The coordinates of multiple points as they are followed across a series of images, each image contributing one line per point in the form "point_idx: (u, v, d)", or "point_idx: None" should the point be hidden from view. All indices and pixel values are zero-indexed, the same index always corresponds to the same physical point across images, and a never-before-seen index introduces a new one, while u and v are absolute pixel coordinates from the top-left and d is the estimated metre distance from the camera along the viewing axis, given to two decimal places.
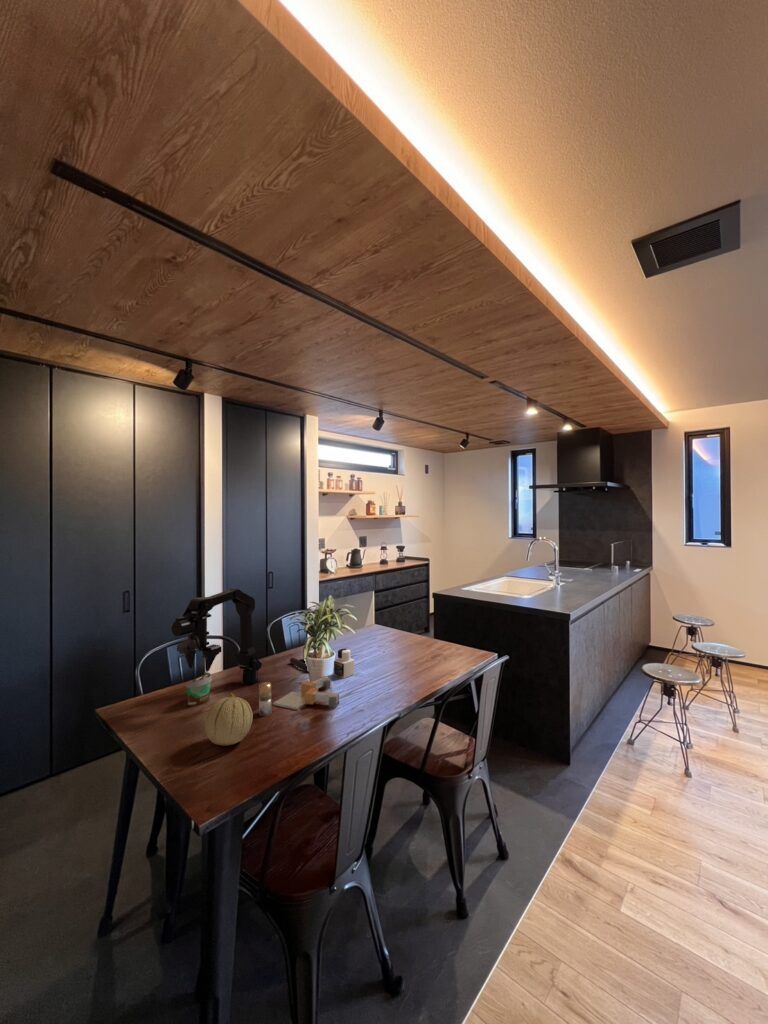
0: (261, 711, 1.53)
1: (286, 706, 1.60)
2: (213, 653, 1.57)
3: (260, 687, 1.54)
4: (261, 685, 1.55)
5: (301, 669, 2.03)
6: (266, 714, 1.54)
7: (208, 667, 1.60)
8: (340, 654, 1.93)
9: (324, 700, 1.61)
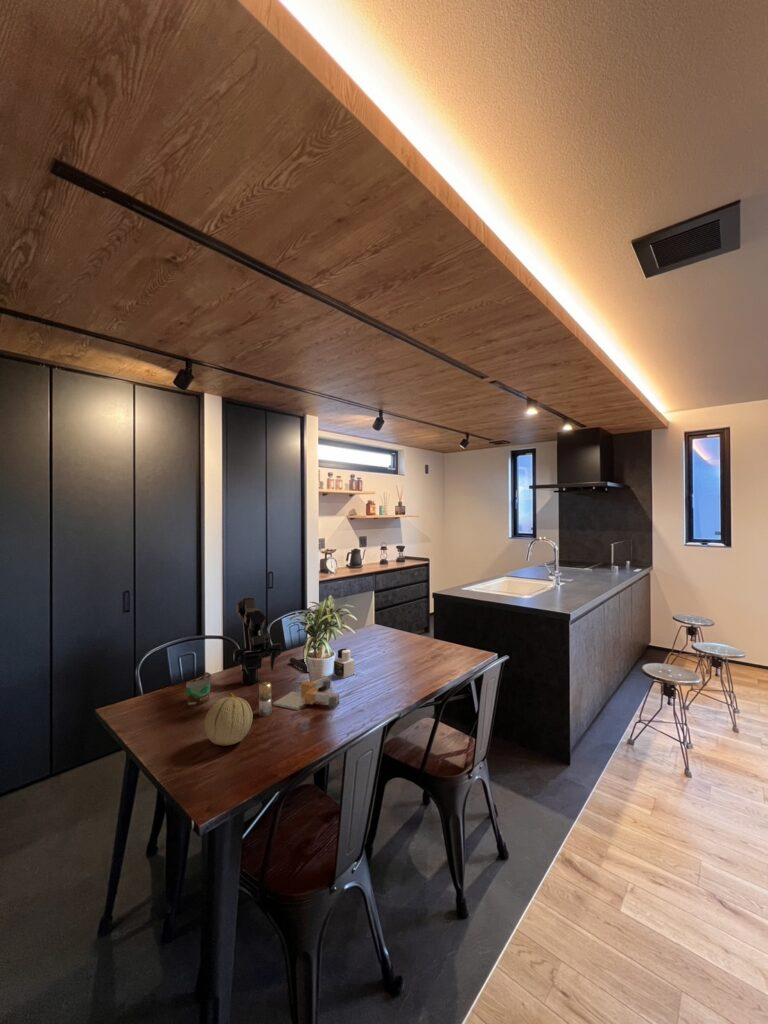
0: (261, 711, 1.53)
1: (286, 706, 1.60)
2: None
3: (260, 687, 1.54)
4: (261, 685, 1.55)
5: (301, 669, 2.03)
6: (266, 714, 1.54)
7: None
8: (340, 654, 1.93)
9: (324, 700, 1.61)
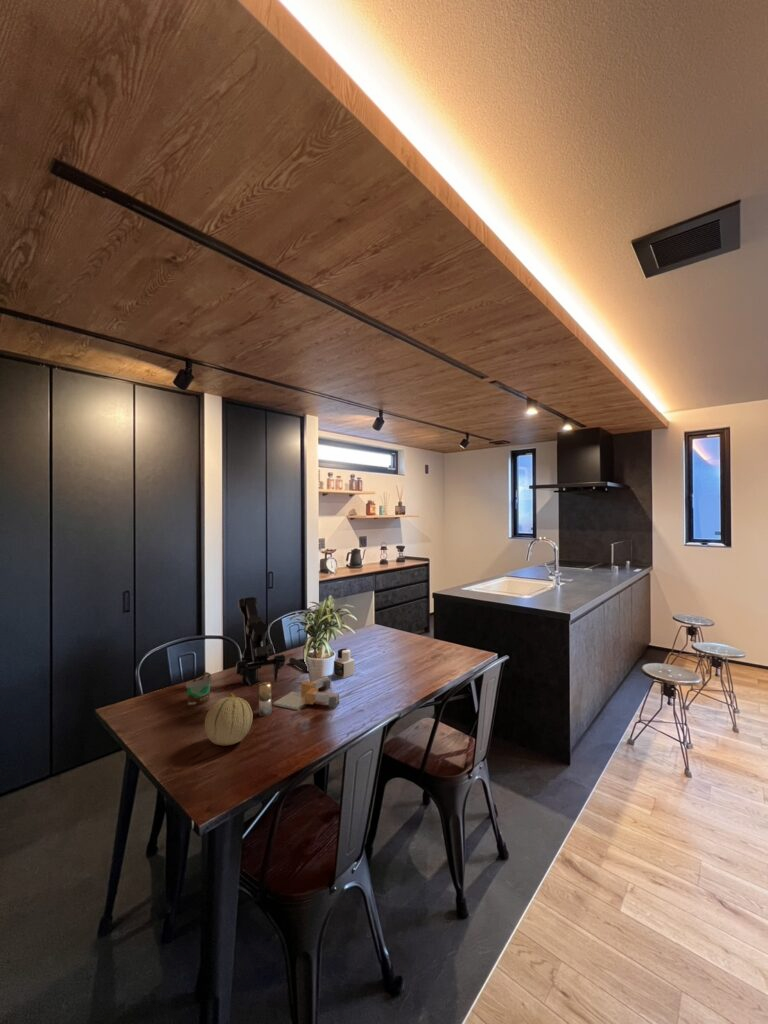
0: (261, 711, 1.53)
1: (286, 706, 1.60)
2: None
3: (260, 687, 1.54)
4: (261, 685, 1.55)
5: (301, 669, 2.03)
6: (266, 714, 1.54)
7: (276, 677, 1.62)
8: (340, 654, 1.93)
9: (324, 700, 1.61)
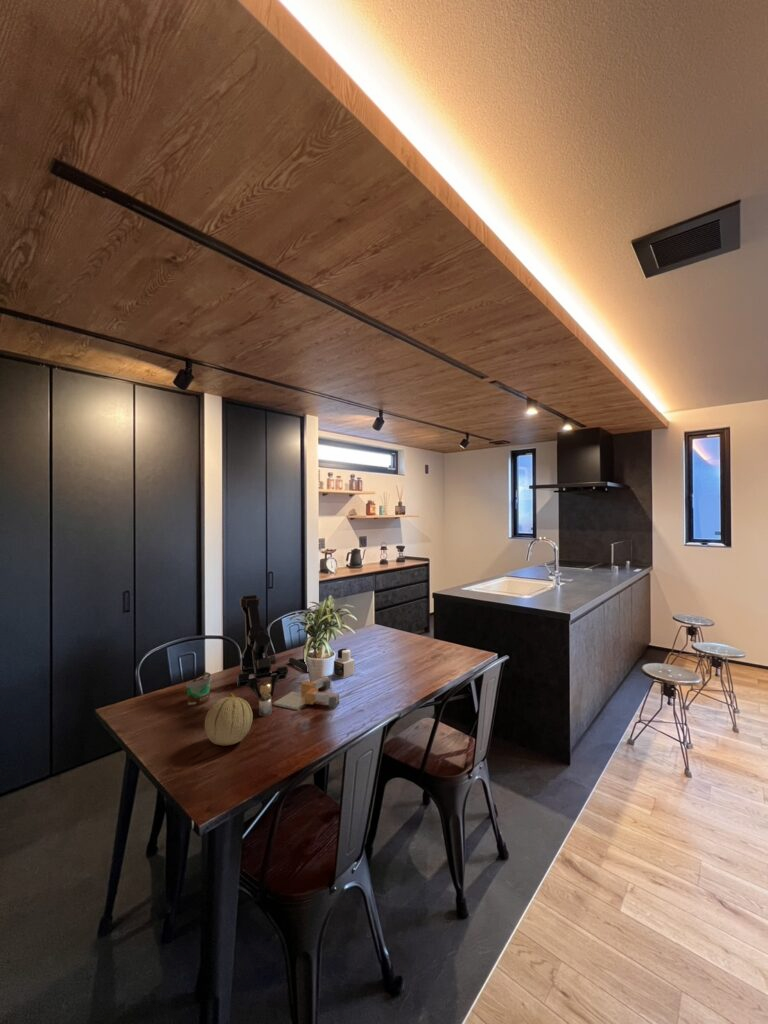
0: (261, 711, 1.53)
1: (286, 706, 1.60)
2: None
3: (260, 687, 1.54)
4: (261, 685, 1.55)
5: (300, 669, 2.03)
6: (266, 714, 1.54)
7: (273, 691, 1.57)
8: (340, 654, 1.93)
9: (324, 700, 1.61)
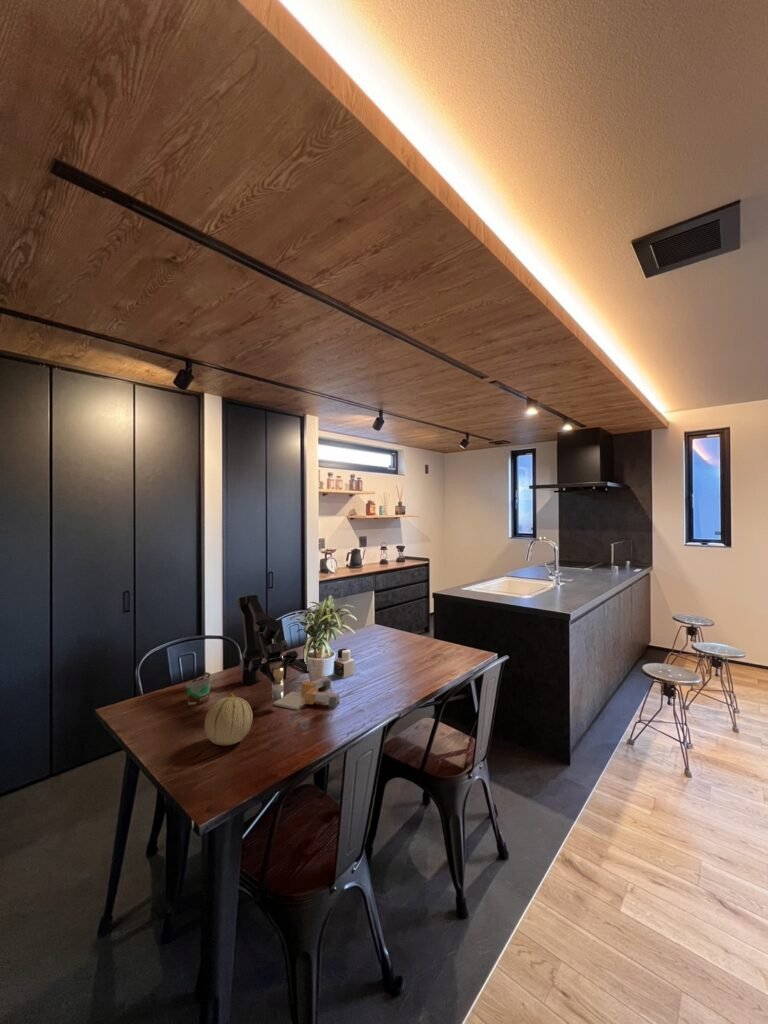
0: (275, 694, 1.57)
1: (286, 706, 1.60)
2: None
3: (274, 670, 1.58)
4: (274, 669, 1.58)
5: (300, 669, 2.03)
6: (280, 697, 1.58)
7: None
8: (340, 654, 1.93)
9: (324, 700, 1.61)
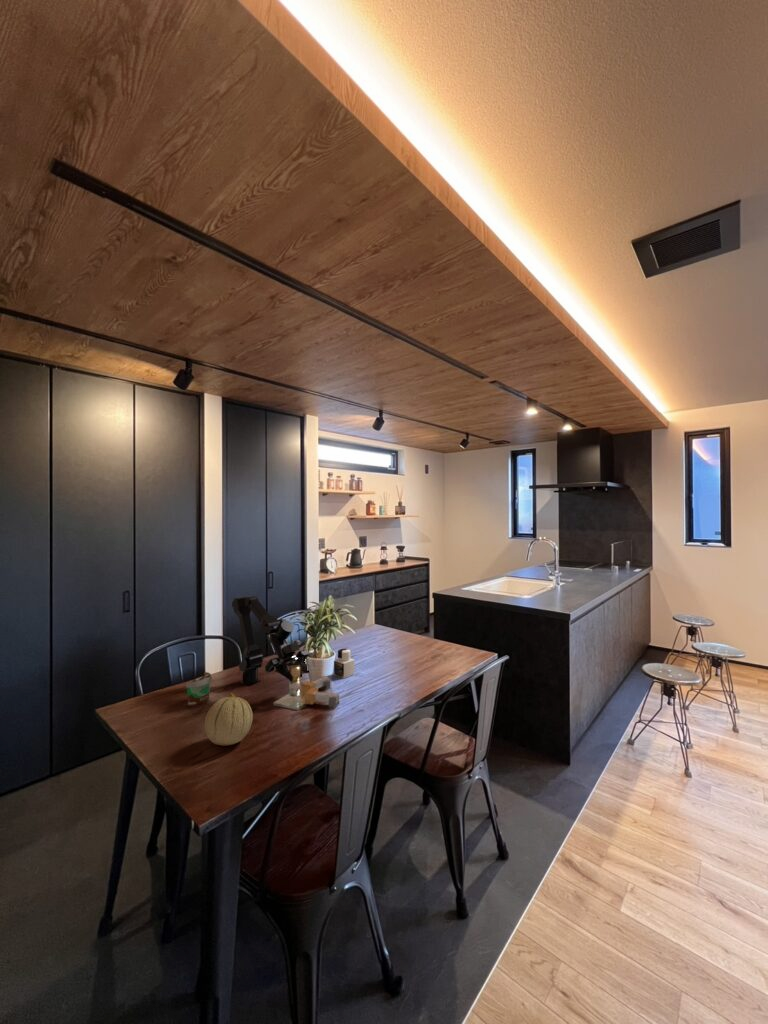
0: (294, 692, 1.64)
1: (286, 706, 1.60)
2: None
3: (292, 669, 1.64)
4: (292, 668, 1.65)
5: None
6: (298, 694, 1.64)
7: None
8: (340, 654, 1.93)
9: (324, 700, 1.61)
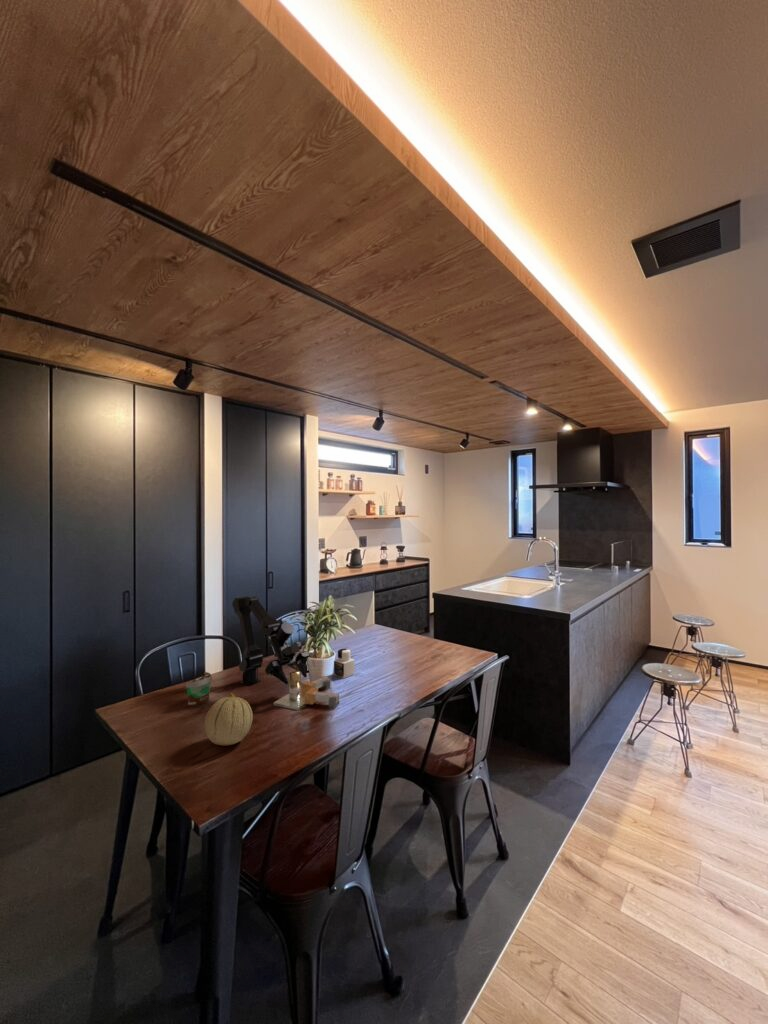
0: (294, 697, 1.64)
1: (286, 706, 1.60)
2: None
3: (292, 674, 1.64)
4: (292, 673, 1.64)
5: None
6: (298, 699, 1.64)
7: None
8: (340, 654, 1.93)
9: (324, 700, 1.61)
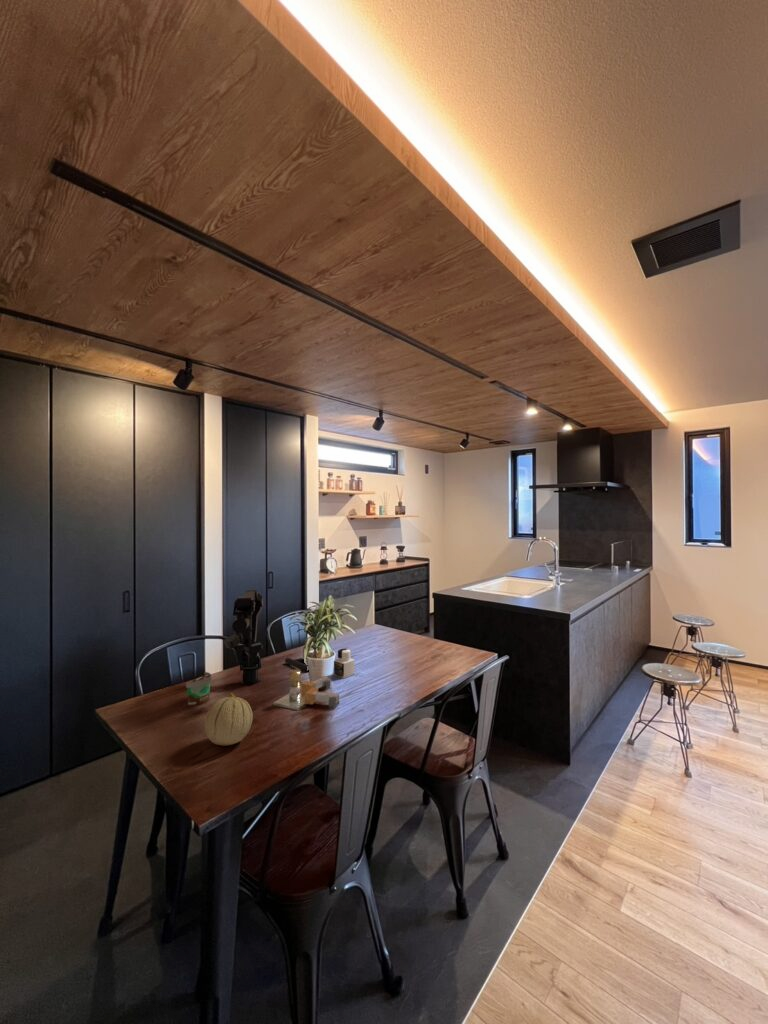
0: (294, 696, 1.64)
1: (286, 706, 1.60)
2: (253, 650, 1.67)
3: (293, 674, 1.64)
4: (293, 672, 1.65)
5: (298, 669, 2.03)
6: (298, 699, 1.64)
7: (251, 662, 1.70)
8: (340, 654, 1.93)
9: (324, 700, 1.61)
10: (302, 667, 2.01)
